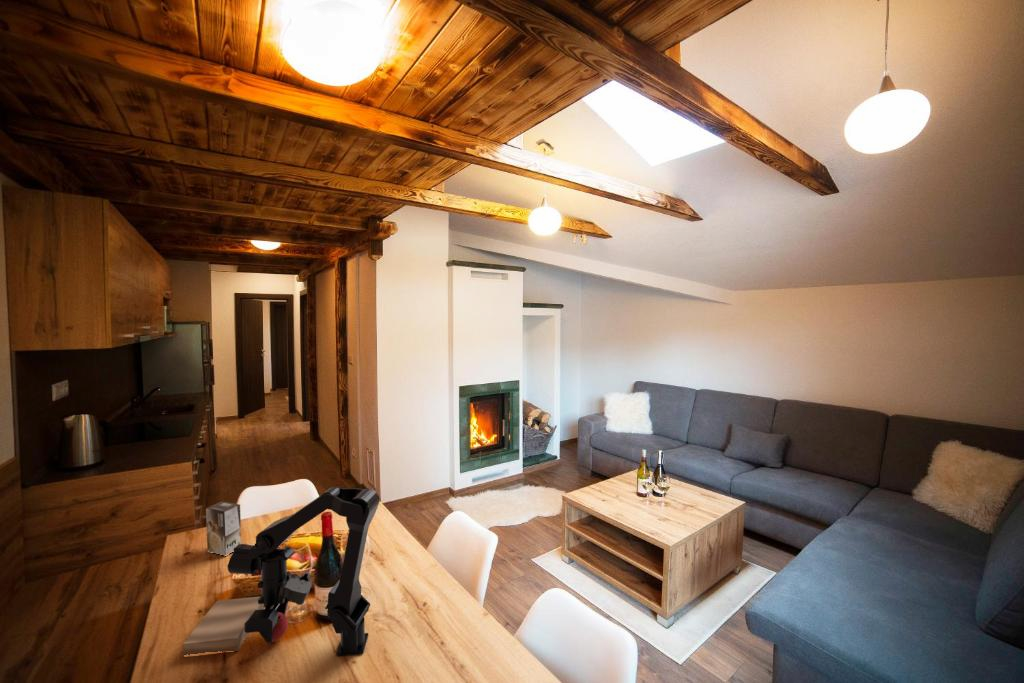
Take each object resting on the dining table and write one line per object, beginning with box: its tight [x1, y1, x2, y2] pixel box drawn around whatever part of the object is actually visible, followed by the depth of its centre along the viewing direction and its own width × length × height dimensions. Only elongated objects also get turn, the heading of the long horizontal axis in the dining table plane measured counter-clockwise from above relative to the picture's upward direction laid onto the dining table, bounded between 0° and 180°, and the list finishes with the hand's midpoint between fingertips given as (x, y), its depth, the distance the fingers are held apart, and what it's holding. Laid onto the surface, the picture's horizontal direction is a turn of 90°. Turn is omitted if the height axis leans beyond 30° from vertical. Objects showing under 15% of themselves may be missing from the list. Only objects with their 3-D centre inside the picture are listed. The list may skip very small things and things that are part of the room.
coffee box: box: [205, 500, 242, 555], centre depth 150 cm, size 9×6×16 cm
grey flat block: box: [182, 595, 265, 655], centre depth 111 cm, size 16×12×4 cm
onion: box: [272, 612, 289, 643], centre depth 108 cm, size 6×6×8 cm
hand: (275, 633), depth 108 cm, fingers open, 6 cm apart
